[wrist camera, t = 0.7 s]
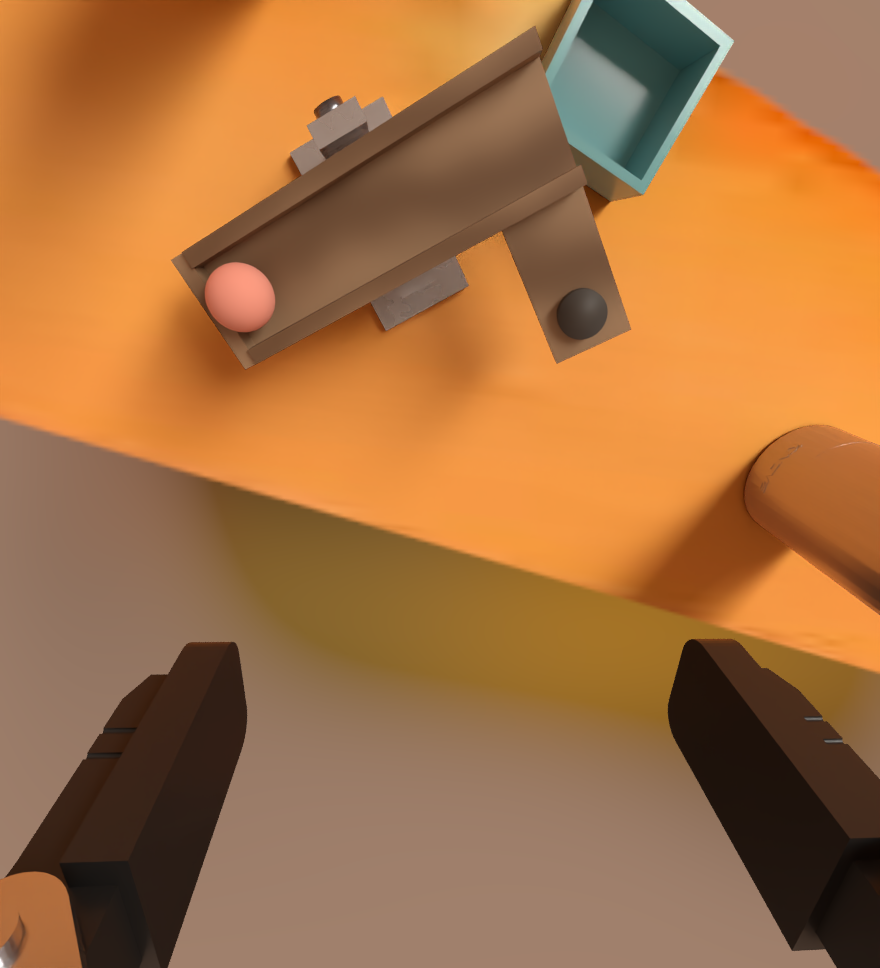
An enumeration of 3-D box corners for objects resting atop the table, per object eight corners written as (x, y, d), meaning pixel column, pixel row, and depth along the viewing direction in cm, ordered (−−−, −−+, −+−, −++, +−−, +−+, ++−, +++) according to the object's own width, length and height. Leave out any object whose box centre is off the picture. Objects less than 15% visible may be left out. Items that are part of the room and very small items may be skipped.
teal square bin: (686, 69, 30) (734, 41, 26) (610, 201, 33) (643, 194, 28) (579, -16, 28) (612, -62, 24) (507, 131, 31) (525, 113, 26)
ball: (290, 278, 25) (237, 307, 23) (287, 327, 28) (239, 356, 26) (242, 238, 25) (185, 263, 23) (243, 290, 28) (192, 315, 26)
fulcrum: (467, 285, 34) (490, 296, 26) (386, 329, 35) (384, 353, 27) (382, 99, 30) (380, 46, 22) (291, 154, 30) (257, 122, 22)
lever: (623, 323, 28) (637, 334, 26) (330, 459, 33) (318, 480, 31) (528, 44, 23) (535, 25, 20) (195, 255, 28) (168, 260, 25)
